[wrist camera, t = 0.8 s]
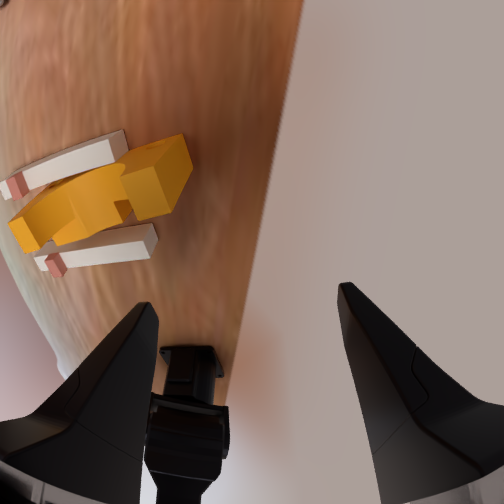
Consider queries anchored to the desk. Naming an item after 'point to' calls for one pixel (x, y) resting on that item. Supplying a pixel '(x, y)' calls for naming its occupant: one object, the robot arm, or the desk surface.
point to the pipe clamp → (106, 195)
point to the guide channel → (101, 243)
